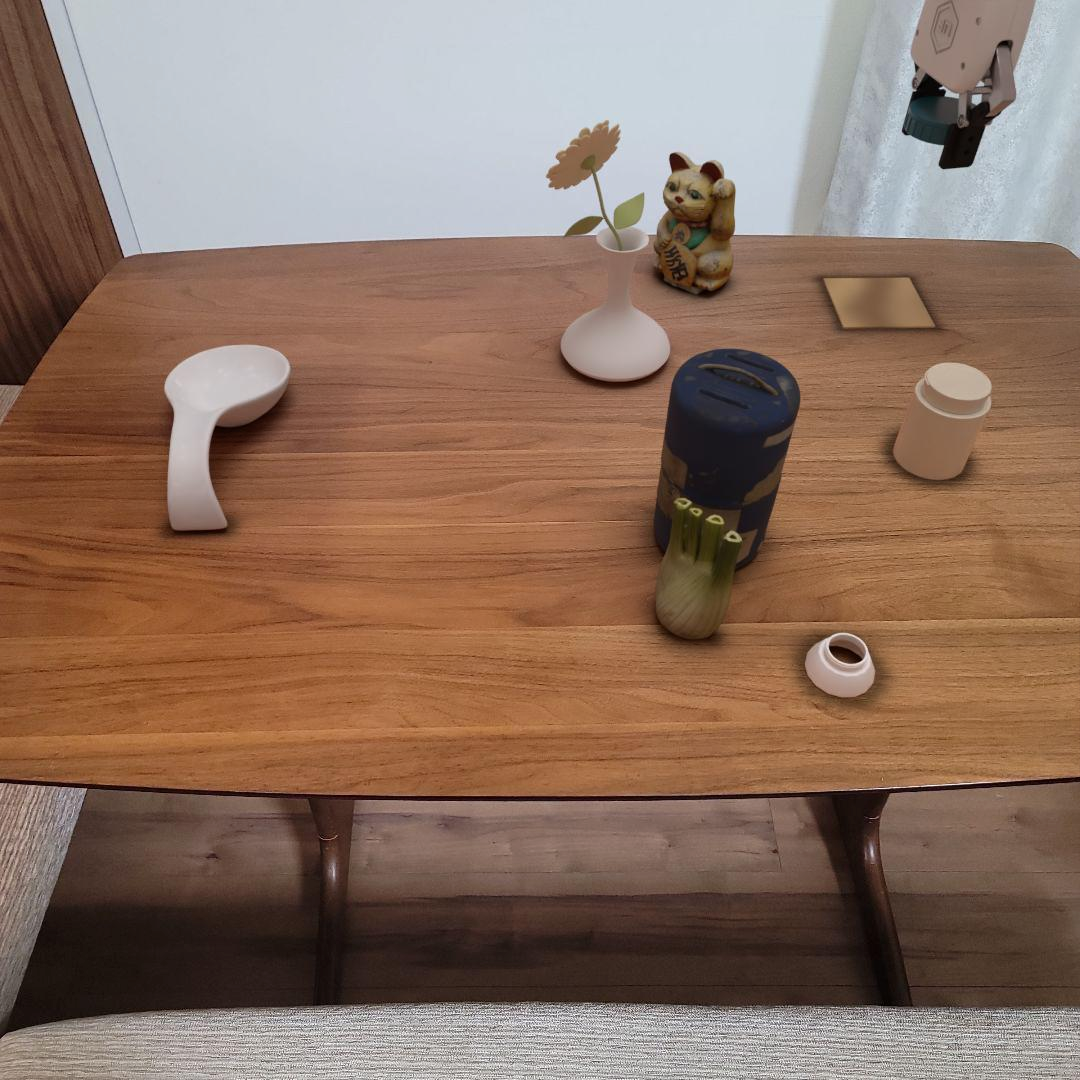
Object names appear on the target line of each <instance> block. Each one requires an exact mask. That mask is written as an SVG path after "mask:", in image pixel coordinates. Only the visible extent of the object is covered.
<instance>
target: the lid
mask: <svg viewBox="0 0 1080 1080" xmlns="http://www.w3.org/2000/svg"><path fill="white" fill-rule="evenodd" d="M958 101H959V97H953V96H947V95H945V96H928V97H922V98H919V99H916V100H914V101H913V102H912V103H911V104H910V106H909V105H908V106H909V110H907V111H906V113H907V114H906V113H905V117H904V120H905V121H903V124H904V128H905V130H906V132H907V133H908V134H909V135H908V136H911V137H912V138H914V139H916V140H918V141H921V142H923V143H924V142H925V143H927V144H931V145H937V146H944V144H945V141H946V138H947V135H948V132H949V129H950V126H951V124H952V123H957V115H958ZM976 105H977V104H976V103H973V102H972V105H971V109H972V108H974V107H975V106H976Z"/></svg>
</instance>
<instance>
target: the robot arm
mask: <svg viewBox="0 0 1080 1080" xmlns="http://www.w3.org/2000/svg"><path fill="white" fill-rule="evenodd" d="M1036 2H1037V0H924V2H923V5H922V9H921V12H920V14H919V18H918V22H917V25H916V29H915V30H914V31H915V32H914V35H913V38H912V41H911V46H910V51H909V52H910V56H911V59H912V61H913V64H914V73H915V74H914V76H913V77H912V80H911V88H912V90H913V91H912V92H911V96H910V99H909V103H908V106H907V110H909V106H910V104H911V103H912V102H913V101H914V100H916V99H919V98H922V97H928V96H946V93H947V91H949V92H951V93H953V94H955V95H956V94H957V95H958V99H959V101H958V115H957V123H952V124H951V126H950V129H949V132H948V135H947V138H946V141H945V144H944V145H943V147H942V151H941V154H940V157H939V160H938V167H939V168H940V169H941V170H953V169H962V168H963V169H964V168H970V167H972V165H973V164H974V162H975V160H976V156H977V153H978V150H979V147H980V145H981V142H982V139H983V137H984V136H983V135H984V133H985V130H986V127H987V126H988V127H989V126H991V125H992V123H993V121H994V119H996V118H997V117H998V116H1000V115H1001V114H1002V112H1003V111H1004V110H1006V109H1007V108H1008V107H1009V106H1011V105H1012V104H1013V103H1014V102H1015V101H1016V99H1017V88H1016V82H1015V74H1014V73H1015V70H1016V67H1017V64H1018V62H1019V59H1020V56H1021V53H1022V50H1023V47H1024V44H1025V42H1026V37H1027V35H1028V32H1029V31H1028V30H1029V27H1030V24H1031V21H1032V17H1033V14H1034V10H1035V5H1036ZM980 82H981V83H983V85H980V86H979V83H980ZM943 87H944V88H943ZM976 95H981V98H980V99H981V100H980V102H979V103H978V104H976V106H975V107H974V108H972V109H971V105H972V103H973V96H976ZM906 114H907V112H906V113H905V115H906ZM904 121H905V119H904ZM904 121H903V122H904ZM901 133H902V134H903V135H904V136H906V137H907V136H910V135H909V134H908V133H907V132H906V130H905V128H904V123H903V124H902V128H901Z"/></svg>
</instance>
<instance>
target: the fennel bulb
mask: <svg viewBox="0 0 1080 1080" xmlns="http://www.w3.org/2000/svg"><path fill="white" fill-rule="evenodd" d="M702 516H703V511H702V510H701V509H699V508H692V502H691V501H689V500H688V499H686V498H677V499H676V500H675V501H674V502H673V518H672V529H671V536H670V542H669V545H668V548H667V551H666V552H665V554H664V556H663V558H662V560H661V562H660V566H659V570H658V574H657V578H656V582H655V592H654V593H655V613H656V616H657V620H658V621H659V623H660V624H661V625H662V626H663V627H664V628H665V629H666V630H668V631H669V632H670V633H672V634H673V635H674V636H677V637H680V638H682V639H687V640H693V641H694V640H701V639H706V638H709V637H710V636H711V635H712V634H714V632H715V631H717V630H718V629H719V628H720V625H721V624H722V623H723V621H724V618H725V617H726V614H727V611H728V608H729V604H730V602H731V598H732V590H733V580H734V576H735V575H734V574H735V570H736V569H735V565H736V561H737V558H738V554H739V551H740V548H741V545H742V538H741V537H740V536H739V534H738V533H737V532H735V531H732V530H731V531H730V532H729V533H727V534H726V536H725V537H724V538H723V541H722V544H721V547H720V543H721V538H722V533H723V527H724V521H723V519H722V517H720V516H718V515H712V516H710V517H709V518H707V519H705V524H704V529H703V534H702V522H703V518H702ZM701 541H702V543H701Z"/></svg>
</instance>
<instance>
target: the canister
mask: <svg viewBox="0 0 1080 1080" xmlns="http://www.w3.org/2000/svg"><path fill="white" fill-rule="evenodd" d="M800 406H801V389H800V386H799V383H798V381H797V379H796V377H795V376H794V375H793V373H791V371H790V370H789V369H788V368H787V367H786V366H784V365H783V363H780V362H779V361H778V360H775V359H774V358H772V357H770V356H768V355H766V354H763V353H760V352H756V351H752V350H748V349H743V348H714V349H710V350H707V351H703V352H699V353H697V354H696V355H693V356H692V357H690V358H689V359H687V360H686V361H684V362H683V364H681V366H679V368H678V369H677V370H676V372H675V374H674V376H673V379H672V381H671V385H670V390H669V399H668V405H667V413H666V420H665V427H664V434H663V439H662V440H663V442H662V449H661V453H660V469H659V477H658V483H657V489H656V500H655V508H654V515H653V516H654V517H653V531H654V535H655V538H656V540H657V543H658V545H659V546H660V547H661V549H662V550H663V551H664V553H666V551H667V548H668V545H669V542H670V536H671V529H672V518H673V502H674V501H675V500H676V499H677V498H686V499H688V500H689V501H691V502H692V508H699V509H701V510H702V511H703V516H702V518H703V522H702V534H703V529H704V524H705V519H707V518H709V517H710V516H712V515H718V516H720V517H722V519H723V521H724V527H723V533H722V538H721V543H720V547H721V544H722V541H723V538H724V537H725V536H726V534H727V533H729V532H730V531H731V530H732V531H735V532H737V533H738V534H739V536H740V537H741V538H742V545H741V548H740V551H739V554H738V558H737V561H736V565H735V570H736V569H738V568H741V567H743V566H745V565H746V564H748V563H749V562H751V561H752V560H753V559H754V558H755V557H756V556H757V555H758V553H759V552H760V551H761V549H762V548H763V545H764V542H765V538H766V533H767V529H768V526H769V522H770V519H771V516H772V513H773V509H774V507H775V503H776V500H777V495H778V491H779V489H780V484H781V480H782V473H783V470H784V466H785V461H786V458H787V454H788V451H789V447H790V443H791V439H792V435H793V431H794V429H795V425H796V421H797V417H798V414H799V411H800ZM701 543H702V541H701Z"/></svg>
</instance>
